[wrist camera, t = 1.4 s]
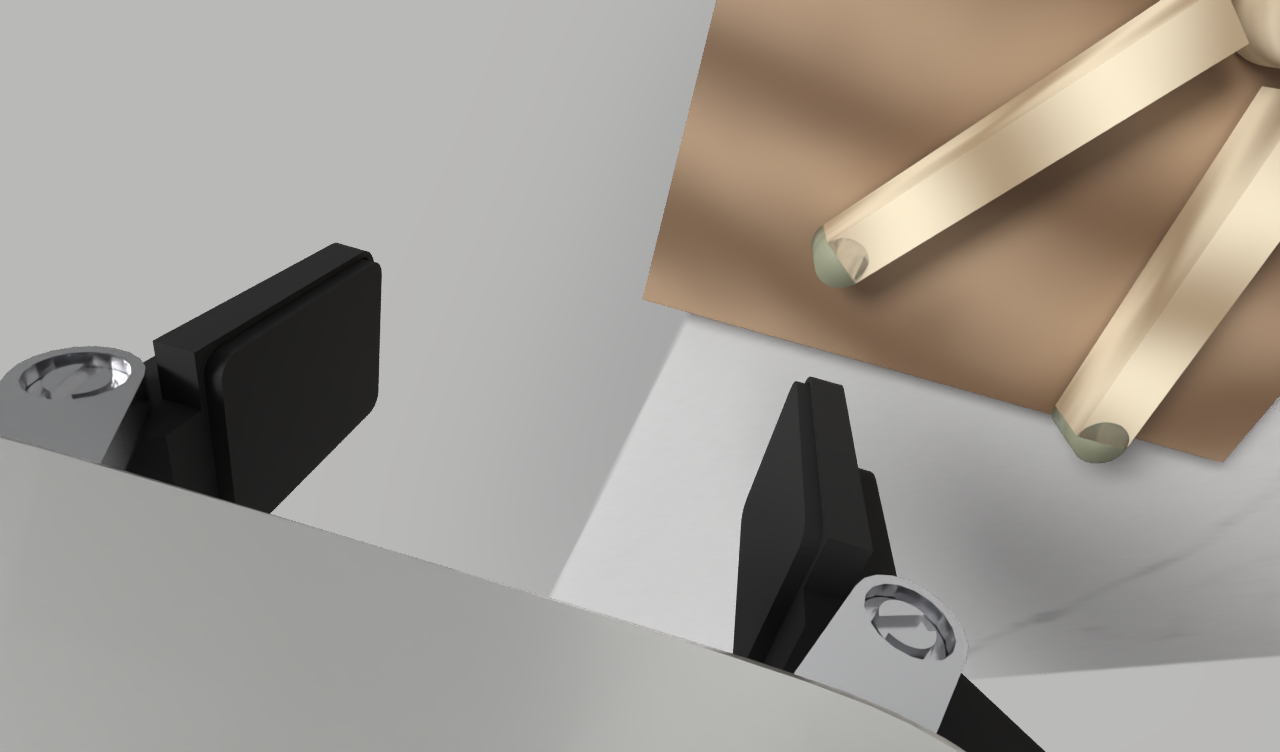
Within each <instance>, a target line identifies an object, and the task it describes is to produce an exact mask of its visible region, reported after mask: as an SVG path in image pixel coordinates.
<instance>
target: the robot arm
mask: <svg viewBox="0 0 1280 752" xmlns="http://www.w3.org/2000/svg"><path fill="white" fill-rule="evenodd" d="M381 278H382V273H381V267H380V265H379V264H378V263H376V262H374V260H373V257H372V255H371V254H370V252H367V251H364V250H360V249H357V248H353V247H349V246H346V245H342V244H339V243H334V244H331V245H329V246H328V247H326V248H324V249H322V250H320V251H318V252H316V253H315V254H313V255H311V256H309V257H307V258H305V259H304V260H302V261H300V262H298V263H296V264H294V265H292V266H290V267H289V268H287V269H285V270H283V271H281V272H279V273H278V274H276V275H274V276H272V277H270V278H268V279H267V280H265V281H263V282H261V283H259V284H257V285H255V286H253V287H252V288H250V289H248V290H246V291H244V292H242V293H241V294H239V295H237V296H235V297H233V298H231V299H229V300H227V301H226V302H224V303H222V304H220V305H218V306H216V307H215V308H213V309H211V310H209V311H207V312H205V313H203V314H202V315H200V316H198V317H196V318H194V319H192V320H190V321H189V322H187V323H185V324H183V325H181V326H180V327H178V328H176V329H174V330H172V331H170V332H168V333H166V334H164V335H163V336H161V337H159V338H157V339H155V340H153V345H154V351H155V356H154V357H152V358H150V359H149V360H147V361H145V362H142V360H141V359H140V358H139V357H137V356H135V355H133V354H132V353H130V352H127V351H123V350H120V349H116V348H110V347H109V348H108V347H100V346H85V347H70V348H64V349H58V350H53V351H49V352H46V353H42V354H39V355H36V356H33V357H31V358H29V359H27V360H24V361H22V362H21V363H18V364H17V365H16V366H14V367H13V368H12V369H11V370H10V371H8V372H7V373H6V374H5V376H4V377H3V378H2V379H1V381H0V752H1045V751H1044V750H1043V749H1042V748H1041V747H1040V746H1039V745H1037V744H1036V743H1035V742H1034V741H1033V740H1032V739H1031V738H1030V737H1029V736H1028V735H1027V734H1026V733H1024V732H1023V731H1022V730H1021V729H1020V728H1019V727H1018V726H1017V725H1016V724H1015V723H1014V722H1013V721H1012V720H1011V719H1010V718H1009V717H1008V716H1007V715H1005V714H1004V713H1003V712H1002V711H1001V710H1000V709H999V708H998V707H997V706H996V705H995V704H994V703H993V702H992V701H991V700H989V699H988V698H987V697H986V696H985V695H984V694H983V693H982V692H981V691H980V690H979V689H978V688H977V687H976V686H975V685H974V684H972V683H971V682H970V681H969V680H968V679H967V678H966V677H965V676H964V675H963V674H962V673H961V672H962V669H963V667H964V664H965V662H966V659H967V654H968V646H969V645H968V642H967V638H966V635H965V631H964V629H963V628H962V626H961V624H960V623H959V621H958V619H957V618H956V616H955V615H954V614H953V613H952V612H951V611H950V609H949V608H948V607H947V606H946V605H945V604H944V603H943V602H942V601H941V600H939V599H938V598H937V597H935V596H934V595H933V594H932V593H930V592H929V591H928V590H926V589H924V588H922V587H920V586H919V585H917V584H915V583H913V582H911V581H909V580H905V579H902V578H899V577H897V575H896V571H895V566H894V561H893V557H892V552H891V547H890V543H889V538H888V534H887V529H886V524H885V520H884V515H883V510H882V506H881V501H880V497H879V492H878V487H877V483H876V479H875V476H874V474H873V473H872V472H870V471H867V470H863V469H860V468H858V464H857V459H856V454H855V448H854V443H853V437H852V432H851V426H850V421H849V415H848V410H847V404H846V399H845V393H844V388H843V386H842V385H839V384H835V383H831V382H828V381H824V380H821V379H817V378H814V377H809V378H808V379H807V380H806V382H805V384H804V383H800V382H797V381H795V382H794V383H793V385H792V387H791V389H790V392H789V394H788V397H787V399H786V402H785V404H784V407H783V409H782V412H781V414H780V417H779V419H778V422H777V424H776V427H775V429H774V432H773V434H772V437H771V439H770V442H769V444H768V447H767V449H766V452H765V454H764V457H763V459H762V462H761V464H760V467H759V469H758V472H757V474H756V477H755V479H754V482H753V484H752V487H751V490H750V492H749V495H748V497H747V500H746V502H745V506H744V509H743V514H742V520H741V535H740V551H739V567H738V583H737V599H736V615H735V631H734V647H733V654H732V653H728V652H725V651H722V650H718V649H715V648H712V647H709V646H705V645H702V644H699V643H696V642H692V641H689V640H686V639H683V638H679V637H676V636H673V635H669V634H666V633H663V632H660V631H656V630H653V629H650V628H647V627H643V626H640V625H637V624H634V623H630V622H627V621H624V620H620V619H617V618H614V617H611V616H607V615H604V614H601V613H598V612H594V611H591V610H588V609H585V608H581V607H578V606H575V605H571V604H568V603H565V602H562V601H558V600H555V599H552V598H548V597H545V596H542V595H538V594H535V593H532V592H528V591H525V590H522V589H518V588H515V587H512V586H508V585H504V584H502V583H498V582H495V581H491V580H488V579H485V578H482V577H478V576H475V575H471V574H468V573H465V572H462V571H458V570H455V569H452V568H448V567H445V566H442V565H438V564H435V563H432V562H428V561H425V560H421V559H418V558H415V557H412V556H408V555H405V554H401V553H398V552H395V551H391V550H388V549H385V548H382V547H378V546H375V545H372V544H368V543H365V542H362V541H358V540H355V539H352V538H348V537H345V536H342V535H338V534H335V533H332V532H328V531H325V530H322V529H318V528H315V527H312V526H308V525H305V524H302V523H299V522H295V521H292V520H288V519H285V518H282V517H278V516H275V515H272V514H270V513H271V512H272V511H273V510H274V509H275V508H276V507H277V506H278V505H279V504H280V503H281V502H282V501H283V500H284V499H285V498H286V497H287V496H288V495H289V494H290V493H291V492H292V491H293V490H294V489H295V488H296V487H297V486H298V485H299V484H300V483H301V482H302V480H304V479H305V478H306V477H307V475H309V474H310V473H311V472H312V471H313V470H314V469H315V468H316V467H317V466H318V465H319V464H320V463H321V462H322V460H323V459H325V457H327V455H328V454H330V452H332V450H334V449H335V448H336V446H337V445H338V444H339V443H340V442H341V441H342V440H343V439H344V438H345V437H346V436H347V435H348V434H349V433H350V432H351V431H352V430H353V429H354V428H355V427H356V426H357V425H358V424H359V423H360V422H361V421H362V420H363V419H364V418H365V417H366V416H367V415H368V414H369V413H370V412H371V411H372V409H373V407H374V406H375V403H376V401H377V397H378V383H379V348H380V346H379V345H380V311H381Z"/></svg>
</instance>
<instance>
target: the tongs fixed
mask: <svg viewBox="0 0 1280 752" xmlns="http://www.w3.org/2000/svg"><path fill="white" fill-rule="evenodd" d="M1279 242H1280V89H1276V88H1270V87H1264V86H1262V87H1261V89H1260V90H1259V92H1258V93H1257V95H1256V96H1255V98H1254V99H1253V101H1252V102H1251V104H1250V106H1249V107H1248V109H1247V110H1246V112H1245V113H1244V115H1243V116H1242V118H1241V119H1240V121H1239V123H1238V124H1237V126H1236V127H1235V129H1234V130H1233V132H1232V133H1231V135H1230V136H1229V138H1228V140H1227V141H1226V143H1225V144H1224V146H1223V147H1222V149H1221V150H1220V152H1219V153H1218V155H1217V157H1216V158H1215V160H1214V161H1213V163H1212V164H1211V166H1210V167H1209V169H1208V170H1207V172H1206V174H1205V175H1204V177H1203V178H1202V180H1201V181H1200V183H1199V184H1198V186H1197V187H1196V189H1195V191H1194V192H1193V194H1192V195H1191V197H1190V198H1189V200H1188V201H1187V203H1186V204H1185V206H1184V208H1183V209H1182V211H1181V212H1180V214H1179V215H1178V217H1177V218H1176V220H1175V221H1174V223H1173V225H1172V226H1171V228H1170V229H1169V231H1168V232H1167V234H1166V235H1165V237H1164V238H1163V240H1162V242H1161V243H1160V245H1159V246H1158V248H1157V249H1156V251H1155V252H1154V254H1153V255H1152V257H1151V259H1150V260H1149V262H1148V263H1147V265H1146V266H1145V268H1144V269H1143V271H1142V272H1141V274H1140V275H1139V277H1138V279H1137V280H1136V282H1135V283H1134V285H1133V286H1132V288H1131V289H1130V291H1129V292H1128V294H1127V296H1126V297H1125V299H1124V300H1123V302H1122V303H1121V305H1120V306H1119V308H1118V309H1117V311H1116V313H1115V314H1114V316H1113V317H1112V319H1111V320H1110V322H1109V323H1108V325H1107V326H1106V328H1105V330H1104V331H1103V333H1102V334H1101V336H1100V337H1099V339H1098V340H1097V342H1096V343H1095V345H1094V347H1093V348H1092V350H1091V351H1090V353H1089V354H1088V356H1087V357H1086V359H1085V360H1084V362H1083V364H1082V365H1081V367H1080V368H1079V370H1078V371H1077V373H1076V374H1075V376H1074V377H1073V379H1072V381H1071V382H1070V384H1069V385H1068V387H1067V388H1066V390H1065V391H1064V393H1063V394H1062V396H1061V398H1060V399H1059V401H1058V402H1057V404H1056V405H1055V407H1054V409H1053V413H1052V417H1053V421H1054V422H1055V424H1056V425H1057V427H1058V428H1059V430H1060V431H1061V433H1062V434H1063V436H1064V437H1065V439H1066V440H1067V442H1068V443H1069V445H1070V446H1071V448H1072V449H1073V451H1074V452H1075V454H1076V455H1077V456H1078V457H1079V458H1080V459H1082V460H1083V461H1086V462H1089V463H1104V462H1108V461H1111V460H1113V459H1115V458H1117V457H1118V456H1120V455H1121V454H1122V453H1123V452H1124V451H1125V450H1126V448H1127V447H1128V446H1129V444H1130V443H1131V442H1132V440H1133V439H1134V438H1135V436H1136V435H1137V434H1138V432H1139V431H1140V430H1141V428H1142V427H1143V425H1144V424H1145V423H1146V421H1147V420H1148V419H1149V417H1150V416H1151V415H1152V413H1153V412H1154V411H1155V409H1156V408H1157V407H1158V405H1159V404H1160V403H1161V401H1162V400H1163V398H1164V397H1165V396H1166V394H1167V393H1168V392H1169V390H1170V389H1171V388H1172V386H1173V385H1174V384H1175V382H1176V381H1177V380H1178V378H1179V377H1180V376H1181V374H1182V373H1183V371H1184V370H1185V369H1186V367H1187V366H1188V365H1189V363H1190V362H1191V361H1192V359H1193V358H1194V357H1195V355H1196V354H1197V353H1198V351H1199V350H1200V349H1201V347H1202V346H1203V344H1204V343H1205V342H1206V340H1207V339H1208V338H1209V336H1210V335H1211V334H1212V332H1213V331H1214V330H1215V328H1216V327H1217V326H1218V324H1219V323H1220V322H1221V320H1222V319H1223V317H1224V316H1225V315H1226V313H1227V312H1228V311H1229V309H1230V308H1231V307H1232V305H1233V304H1234V303H1235V301H1236V300H1237V299H1238V297H1239V296H1240V295H1241V293H1242V292H1243V291H1244V289H1245V288H1246V286H1247V285H1248V284H1249V282H1250V281H1251V280H1252V278H1253V277H1254V276H1255V274H1256V273H1257V272H1258V270H1259V269H1260V268H1261V266H1262V265H1263V264H1264V262H1265V261H1266V259H1267V258H1268V257H1269V255H1270V254H1271V253H1272V251H1273V250H1274V249H1275V247H1276V246H1277V245H1278V243H1279Z"/></svg>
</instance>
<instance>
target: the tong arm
mask: <svg viewBox="0 0 1280 752" xmlns="http://www.w3.org/2000/svg"><path fill="white" fill-rule="evenodd" d="M1234 52H1237V53H1238V54H1239V55H1241V56H1242V57H1243V58H1244V59H1246V60H1248V61H1250V62H1252V63H1254V64H1257V65H1261V66H1266V67H1273V68H1280V0H1160V1H1159V2H1157V3H1156V4H1154V5H1153V6H1151V7H1150V8H1148V9H1147V10H1145V11H1144V12H1142V13H1141V14H1139V15H1138V16H1136V17H1135V18H1133V19H1132V20H1130V21H1129V22H1127V23H1126V24H1124V25H1123V26H1121V27H1120V28H1118V29H1117V30H1115V31H1114V32H1112V33H1111V34H1109V35H1108V36H1106V37H1105V38H1103V39H1102V40H1100V41H1099V42H1097V43H1096V44H1094V45H1093V46H1091V47H1090V48H1088V49H1087V50H1085V51H1084V52H1082V53H1081V54H1079V55H1078V56H1076V57H1075V58H1073V59H1072V60H1070V61H1069V62H1067V63H1066V64H1064V65H1063V66H1061V67H1060V68H1058V69H1057V70H1055V71H1054V72H1052V73H1051V74H1049V75H1048V76H1046V77H1045V78H1043V79H1042V80H1040V81H1039V82H1037V83H1036V84H1034V85H1033V86H1031V87H1030V88H1028V89H1027V90H1025V91H1024V92H1022V93H1021V94H1019V95H1018V96H1016V97H1015V98H1013V99H1012V100H1010V101H1009V102H1007V103H1006V104H1004V105H1003V106H1001V107H1000V108H998V109H997V110H995V111H994V112H992V113H991V114H989V115H988V116H986V117H985V118H983V119H982V120H980V121H979V122H977V123H976V124H974V125H973V126H971V127H970V128H968V129H967V130H965V131H964V132H962V133H961V134H959V135H958V136H956V137H954V138H953V139H951V140H950V141H948V142H947V143H945V144H944V145H942V146H941V147H939V148H938V149H936V150H935V151H933V152H932V153H930V154H929V155H927V156H926V157H924V158H923V159H921V160H920V161H918V162H917V163H915V164H914V165H912V166H911V167H909V168H908V169H906V170H905V171H903V172H902V173H900V174H899V175H897V176H896V177H894V178H893V179H891V180H890V181H888V182H887V183H885V184H884V185H882V186H881V187H879V188H878V189H876V190H875V191H873V192H872V193H870V194H869V195H867V196H866V197H864V198H863V199H861V200H860V201H858V202H857V203H855V204H854V205H852V206H851V207H849V208H848V209H846V210H845V211H843V212H842V213H840V214H839V215H837V216H836V217H834V218H833V219H831V220H830V221H828V222H827V223H825V224H824V225H822V226H821V227H820V228H819V229H818V230H817V231H816V233H815V234H814V236H813V239H812V253H813V260H814V266H815V271H816V274H817V276H818V278H819V279H820V280H821V281H822V282H823V283H824V284H826V285H828V286H830V287H834V288H846V287H849V286H852V285H854V284H856V283H857V282H859V281H861V280H862V279H864V278H866V277H867V276H869V275H870V274H872V273H874V272H875V271H877V270H879V269H880V268H882V267H884V266H885V265H887V264H889V263H890V262H892V261H893V260H895V259H897V258H898V257H900V256H902V255H903V254H905V253H907V252H908V251H910V250H911V249H913V248H915V247H916V246H918V245H920V244H921V243H923V242H925V241H926V240H928V239H930V238H931V237H933V236H934V235H936V234H938V233H939V232H941V231H943V230H944V229H946V228H948V227H949V226H951V225H952V224H954V223H956V222H957V221H959V220H961V219H962V218H964V217H966V216H967V215H969V214H971V213H972V212H974V211H975V210H977V209H979V208H980V207H982V206H984V205H985V204H987V203H989V202H990V201H992V200H993V199H995V198H997V197H998V196H1000V195H1002V194H1003V193H1005V192H1007V191H1008V190H1010V189H1011V188H1013V187H1015V186H1016V185H1018V184H1020V183H1021V182H1023V181H1025V180H1026V179H1028V178H1030V177H1031V176H1033V175H1034V174H1036V173H1038V172H1039V171H1041V170H1043V169H1044V168H1046V167H1048V166H1049V165H1051V164H1052V163H1054V162H1056V161H1057V160H1059V159H1061V158H1062V157H1064V156H1066V155H1067V154H1069V153H1071V152H1072V151H1074V150H1075V149H1077V148H1079V147H1080V146H1082V145H1084V144H1085V143H1087V142H1089V141H1090V140H1092V139H1093V138H1095V137H1097V136H1098V135H1100V134H1102V133H1103V132H1105V131H1107V130H1108V129H1110V128H1111V127H1113V126H1115V125H1116V124H1118V123H1120V122H1121V121H1123V120H1125V119H1126V118H1128V117H1130V116H1131V115H1133V114H1134V113H1136V112H1138V111H1139V110H1141V109H1143V108H1144V107H1146V106H1148V105H1149V104H1151V103H1152V102H1154V101H1156V100H1157V99H1159V98H1161V97H1162V96H1164V95H1166V94H1167V93H1169V92H1171V91H1172V90H1174V89H1175V88H1177V87H1179V86H1180V85H1182V84H1184V83H1185V82H1187V81H1189V80H1190V79H1192V78H1193V77H1195V76H1197V75H1198V74H1200V73H1202V72H1203V71H1205V70H1207V69H1208V68H1210V67H1212V66H1213V65H1215V64H1216V63H1218V62H1220V61H1221V60H1223V59H1225V58H1226V57H1228V56H1230V55H1231V54H1233V53H1234Z"/></svg>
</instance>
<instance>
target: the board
mask: <svg viewBox="0 0 1280 752" xmlns="http://www.w3.org/2000/svg"><path fill="white" fill-rule="evenodd" d="M1159 1H1160V0H716V4H715V8H714V12H713V16H712V20H711V24H710V28H709V32H708V36H707V40H706V44H705V48H704V52H703V56H702V60H701V65H700V69H699V73H698V77H697V81H696V85H695V89H694V93H693V97H692V101H691V105H690V109H689V113H688V117H687V121H686V126H685V129H684V134H683V137H682V142H681V146H680V150H679V154H678V158H677V162H676V166H675V170H674V174H673V178H672V182H671V186H670V190H669V195H668V198H667V202H666V206H665V211H664V214H663V219H662V223H661V227H660V231H659V235H658V239H657V243H656V247H655V251H654V255H653V259H652V263H651V267H650V272H649V275H648V280H647V284H646V287H645V292H644V296H643V300H646V301H650V302H653V303H657V304H661V305H664V306H668V307H671V308H675V309H679V310H682V311H685V312H689V313H693V314H696V315H700V316H703V317H707V318H710V319H714V320H717V321H721V322H724V323H728V324H732V325H735V326H739V327H742V328H746V329H749V330H753V331H756V332H760V333H764V334H767V335H771V336H774V337H778V338H781V339H785V340H788V341H792V342H796V343H799V344H803V345H806V346H810V347H813V348H817V349H820V350H824V351H828V352H831V353H835V354H838V355H842V356H845V357H849V358H852V359H856V360H860V361H863V362H867V363H870V364H874V365H877V366H881V367H884V368H888V369H892V370H895V371H899V372H902V373H906V374H909V375H913V376H916V377H920V378H924V379H927V380H931V381H934V382H938V383H941V384H945V385H948V386H952V387H956V388H959V389H963V390H966V391H970V392H973V393H977V394H980V395H984V396H988V397H991V398H995V399H998V400H1002V401H1005V402H1009V403H1012V404H1016V405H1020V406H1023V407H1027V408H1030V409H1034V410H1037V411H1041V412H1044V413H1048V414H1052V413H1053V409H1054V407H1055V405H1056V404H1057V402H1058V401H1059V399H1060V398H1061V396H1062V394H1063V393H1064V391H1065V390H1066V388H1067V387H1068V385H1069V384H1070V382H1071V381H1072V379H1073V377H1074V376H1075V374H1076V373H1077V371H1078V370H1079V368H1080V367H1081V365H1082V364H1083V362H1084V360H1085V359H1086V357H1087V356H1088V354H1089V353H1090V351H1091V350H1092V348H1093V347H1094V345H1095V343H1096V342H1097V340H1098V339H1099V337H1100V336H1101V334H1102V333H1103V331H1104V330H1105V328H1106V326H1107V325H1108V323H1109V322H1110V320H1111V319H1112V317H1113V316H1114V314H1115V313H1116V311H1117V309H1118V308H1119V306H1120V305H1121V303H1122V302H1123V300H1124V299H1125V297H1126V296H1127V294H1128V292H1129V291H1130V289H1131V288H1132V286H1133V285H1134V283H1135V282H1136V280H1137V279H1138V277H1139V275H1140V274H1141V272H1142V271H1143V269H1144V268H1145V266H1146V265H1147V263H1148V262H1149V260H1150V259H1151V257H1152V255H1153V254H1154V252H1155V251H1156V249H1157V248H1158V246H1159V245H1160V243H1161V242H1162V240H1163V238H1164V237H1165V235H1166V234H1167V232H1168V231H1169V229H1170V228H1171V226H1172V225H1173V223H1174V221H1175V220H1176V218H1177V217H1178V215H1179V214H1180V212H1181V211H1182V209H1183V208H1184V206H1185V204H1186V203H1187V201H1188V200H1189V198H1190V197H1191V195H1192V194H1193V192H1194V191H1195V189H1196V187H1197V186H1198V184H1199V183H1200V181H1201V180H1202V178H1203V177H1204V175H1205V174H1206V172H1207V170H1208V169H1209V167H1210V166H1211V164H1212V163H1213V161H1214V160H1215V158H1216V157H1217V155H1218V153H1219V152H1220V150H1221V149H1222V147H1223V146H1224V144H1225V143H1226V141H1227V140H1228V138H1229V136H1230V135H1231V133H1232V132H1233V130H1234V129H1235V127H1236V126H1237V124H1238V123H1239V121H1240V119H1241V118H1242V116H1243V115H1244V113H1245V112H1246V110H1247V109H1248V107H1249V106H1250V104H1251V102H1252V101H1253V99H1254V98H1255V96H1256V95H1257V93H1258V92H1259V90H1260V89H1261V87H1262V86H1264V87H1270V88H1276V89H1280V68H1273V67H1266V66H1261V65H1257V64H1254V63H1252V62H1250V61H1248V60H1246V59H1244V58H1243V57H1242V56H1241V55H1239V54H1238V53H1237V52H1234V53H1233V54H1231V55H1230V56H1228V57H1226V58H1225V59H1223V60H1221V61H1220V62H1218V63H1216V64H1215V65H1213V66H1212V67H1210V68H1208V69H1207V70H1205V71H1203V72H1202V73H1200V74H1198V75H1197V76H1195V77H1193V78H1192V79H1190V80H1189V81H1187V82H1185V83H1184V84H1182V85H1180V86H1179V87H1177V88H1175V89H1174V90H1172V91H1171V92H1169V93H1167V94H1166V95H1164V96H1162V97H1161V98H1159V99H1157V100H1156V101H1154V102H1152V103H1151V104H1149V105H1148V106H1146V107H1144V108H1143V109H1141V110H1139V111H1138V112H1136V113H1134V114H1133V115H1131V116H1130V117H1128V118H1126V119H1125V120H1123V121H1121V122H1120V123H1118V124H1116V125H1115V126H1113V127H1111V128H1110V129H1108V130H1107V131H1105V132H1103V133H1102V134H1100V135H1098V136H1097V137H1095V138H1093V139H1092V140H1090V141H1089V142H1087V143H1085V144H1084V145H1082V146H1080V147H1079V148H1077V149H1075V150H1074V151H1072V152H1071V153H1069V154H1067V155H1066V156H1064V157H1062V158H1061V159H1059V160H1057V161H1056V162H1054V163H1052V164H1051V165H1049V166H1048V167H1046V168H1044V169H1043V170H1041V171H1039V172H1038V173H1036V174H1034V175H1033V176H1031V177H1030V178H1028V179H1026V180H1025V181H1023V182H1021V183H1020V184H1018V185H1016V186H1015V187H1013V188H1011V189H1010V190H1008V191H1007V192H1005V193H1003V194H1002V195H1000V196H998V197H997V198H995V199H993V200H992V201H990V202H989V203H987V204H985V205H984V206H982V207H980V208H979V209H977V210H975V211H974V212H972V213H971V214H969V215H967V216H966V217H964V218H962V219H961V220H959V221H957V222H956V223H954V224H952V225H951V226H949V227H948V228H946V229H944V230H943V231H941V232H939V233H938V234H936V235H934V236H933V237H931V238H930V239H928V240H926V241H925V242H923V243H921V244H920V245H918V246H916V247H915V248H913V249H911V250H910V251H908V252H907V253H905V254H903V255H902V256H900V257H898V258H897V259H895V260H893V261H892V262H890V263H889V264H887V265H885V266H884V267H882V268H880V269H879V270H877V271H875V272H874V273H872V274H870V275H869V276H867V277H866V278H864V279H862V280H861V281H859V282H857V283H856V284H854V285H852V286H849V287H846V288H834V287H830V286H828V285H826V284H824V283H823V282H822V281H821V280H820V279H819V278H818V276H817V274H816V271H815V266H814V260H813V253H812V239H813V236H814V234H815V233H816V231H817V230H818V229H819V228H820V227H821V226H822V225H824V224H825V223H827V222H828V221H830V220H831V219H833V218H834V217H836V216H837V215H839V214H840V213H842V212H843V211H845V210H846V209H848V208H849V207H851V206H852V205H854V204H855V203H857V202H858V201H860V200H861V199H863V198H864V197H866V196H867V195H869V194H870V193H872V192H873V191H875V190H876V189H878V188H879V187H881V186H882V185H884V184H885V183H887V182H888V181H890V180H891V179H893V178H894V177H896V176H897V175H899V174H900V173H902V172H903V171H905V170H906V169H908V168H909V167H911V166H912V165H914V164H915V163H917V162H918V161H920V160H921V159H923V158H924V157H926V156H927V155H929V154H930V153H932V152H933V151H935V150H936V149H938V148H939V147H941V146H942V145H944V144H945V143H947V142H948V141H950V140H951V139H953V138H954V137H956V136H958V135H959V134H961V133H962V132H964V131H965V130H967V129H968V128H970V127H971V126H973V125H974V124H976V123H977V122H979V121H980V120H982V119H983V118H985V117H986V116H988V115H989V114H991V113H992V112H994V111H995V110H997V109H998V108H1000V107H1001V106H1003V105H1004V104H1006V103H1007V102H1009V101H1010V100H1012V99H1013V98H1015V97H1016V96H1018V95H1019V94H1021V93H1022V92H1024V91H1025V90H1027V89H1028V88H1030V87H1031V86H1033V85H1034V84H1036V83H1037V82H1039V81H1040V80H1042V79H1043V78H1045V77H1046V76H1048V75H1049V74H1051V73H1052V72H1054V71H1055V70H1057V69H1058V68H1060V67H1061V66H1063V65H1064V64H1066V63H1067V62H1069V61H1070V60H1072V59H1073V58H1075V57H1076V56H1078V55H1079V54H1081V53H1082V52H1084V51H1085V50H1087V49H1088V48H1090V47H1091V46H1093V45H1094V44H1096V43H1097V42H1099V41H1100V40H1102V39H1103V38H1105V37H1106V36H1108V35H1109V34H1111V33H1112V32H1114V31H1115V30H1117V29H1118V28H1120V27H1121V26H1123V25H1124V24H1126V23H1127V22H1129V21H1130V20H1132V19H1133V18H1135V17H1136V16H1138V15H1139V14H1141V13H1142V12H1144V11H1145V10H1147V9H1148V8H1150V7H1151V6H1153V5H1154V4H1156V3H1157V2H1159ZM1279 396H1280V242H1279V243H1278V245H1277V246H1276V247H1275V249H1274V250H1273V251H1272V253H1271V254H1270V255H1269V257H1268V258H1267V259H1266V261H1265V262H1264V264H1263V265H1262V266H1261V268H1260V269H1259V270H1258V272H1257V273H1256V274H1255V276H1254V277H1253V278H1252V280H1251V281H1250V282H1249V284H1248V285H1247V286H1246V288H1245V289H1244V291H1243V292H1242V293H1241V295H1240V296H1239V297H1238V299H1237V300H1236V301H1235V303H1234V304H1233V305H1232V307H1231V308H1230V309H1229V311H1228V312H1227V313H1226V315H1225V316H1224V317H1223V319H1222V320H1221V322H1220V323H1219V324H1218V326H1217V327H1216V328H1215V330H1214V331H1213V332H1212V334H1211V335H1210V336H1209V338H1208V339H1207V340H1206V342H1205V343H1204V344H1203V346H1202V347H1201V349H1200V350H1199V351H1198V353H1197V354H1196V355H1195V357H1194V358H1193V359H1192V361H1191V362H1190V363H1189V365H1188V366H1187V367H1186V369H1185V370H1184V371H1183V373H1182V374H1181V376H1180V377H1179V378H1178V380H1177V381H1176V382H1175V384H1174V385H1173V386H1172V388H1171V389H1170V390H1169V392H1168V393H1167V394H1166V396H1165V397H1164V398H1163V400H1162V401H1161V403H1160V404H1159V405H1158V407H1157V408H1156V409H1155V411H1154V412H1153V413H1152V415H1151V416H1150V417H1149V419H1148V420H1147V421H1146V423H1145V424H1144V425H1143V427H1142V428H1141V430H1140V431H1139V432H1138V434H1137V435H1136V436H1135V438H1137V439H1140V440H1144V441H1148V442H1151V443H1155V444H1158V445H1162V446H1165V447H1169V448H1172V449H1176V450H1180V451H1183V452H1187V453H1190V454H1194V455H1197V456H1201V457H1204V458H1208V459H1211V460H1215V461H1219V462H1222V463H1223V462H1224V461H1225V460H1226V458H1227V457H1228V456H1229V455H1230V454H1231V452H1232V451H1233V450H1234V449H1235V448H1236V447H1237V445H1238V444H1239V443H1240V442H1241V441H1242V439H1243V438H1244V437H1245V436H1246V435H1247V433H1248V432H1249V431H1250V430H1251V429H1252V428H1253V426H1254V425H1255V424H1256V423H1257V422H1258V420H1259V419H1260V418H1261V417H1262V416H1263V415H1264V413H1265V412H1266V411H1267V410H1268V409H1269V407H1270V406H1271V405H1272V404H1273V403H1274V401H1275V400H1276V399H1277V398H1278V397H1279Z"/></svg>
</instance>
